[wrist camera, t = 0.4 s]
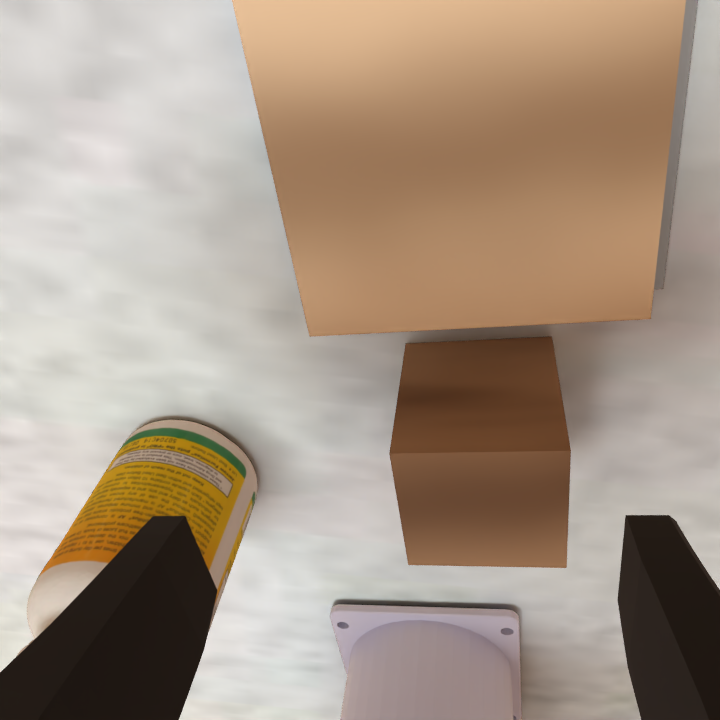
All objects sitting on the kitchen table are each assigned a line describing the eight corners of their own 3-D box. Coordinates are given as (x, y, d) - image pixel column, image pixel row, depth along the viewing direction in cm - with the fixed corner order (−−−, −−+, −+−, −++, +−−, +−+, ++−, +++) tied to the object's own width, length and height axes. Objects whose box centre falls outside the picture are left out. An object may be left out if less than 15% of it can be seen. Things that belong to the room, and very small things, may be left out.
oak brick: (626, 257, 18) (650, 318, 15) (330, 278, 19) (310, 336, 17) (656, -111, 13) (697, -108, 11) (266, -44, 15) (225, -27, 12)
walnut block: (550, 444, 23) (566, 567, 19) (420, 446, 23) (408, 564, 19) (551, 335, 20) (570, 450, 16) (405, 342, 21) (389, 453, 17)
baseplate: (658, 278, 18) (662, 289, 18) (307, 300, 20) (303, 310, 20) (711, -184, 13) (720, -187, 12) (219, -92, 15) (211, -90, 14)
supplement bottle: (276, 514, 26) (194, 775, 19) (153, 516, 28) (29, 764, 20) (237, 409, 24) (121, 669, 16) (101, 417, 25) (-69, 663, 17)
